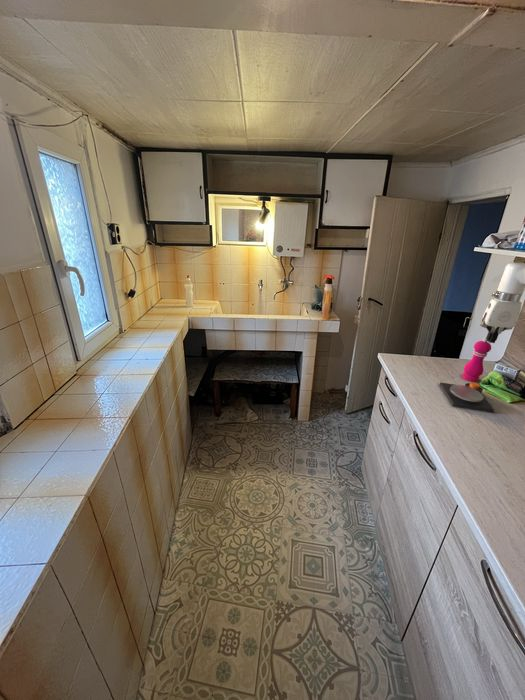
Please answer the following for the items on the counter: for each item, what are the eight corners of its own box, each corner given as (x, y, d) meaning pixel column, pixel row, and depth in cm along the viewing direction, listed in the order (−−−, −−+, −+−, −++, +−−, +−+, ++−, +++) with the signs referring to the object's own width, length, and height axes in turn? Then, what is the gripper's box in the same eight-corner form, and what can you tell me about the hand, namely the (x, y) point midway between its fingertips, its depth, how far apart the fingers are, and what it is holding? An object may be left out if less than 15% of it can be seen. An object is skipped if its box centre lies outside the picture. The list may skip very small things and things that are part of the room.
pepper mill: (460, 379, 128) (475, 338, 120) (460, 373, 134) (475, 333, 125) (479, 384, 124) (496, 343, 116) (479, 377, 130) (496, 337, 122)
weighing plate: (475, 388, 115) (476, 387, 115) (488, 404, 105) (488, 402, 105) (446, 384, 117) (446, 383, 117) (455, 399, 108) (456, 397, 107)
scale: (476, 390, 120) (479, 384, 118) (494, 413, 105) (498, 406, 104) (439, 385, 123) (441, 379, 121) (452, 406, 108) (454, 399, 107)
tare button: (476, 386, 118) (477, 382, 117) (479, 390, 115) (481, 386, 114) (467, 385, 118) (469, 381, 117) (471, 389, 115) (472, 385, 115)
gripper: (490, 297, 104) (473, 343, 112) (537, 300, 101) (516, 347, 109) (480, 293, 111) (465, 336, 118) (524, 296, 108) (506, 340, 115)
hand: (490, 341), depth 113 cm, fingers closed
